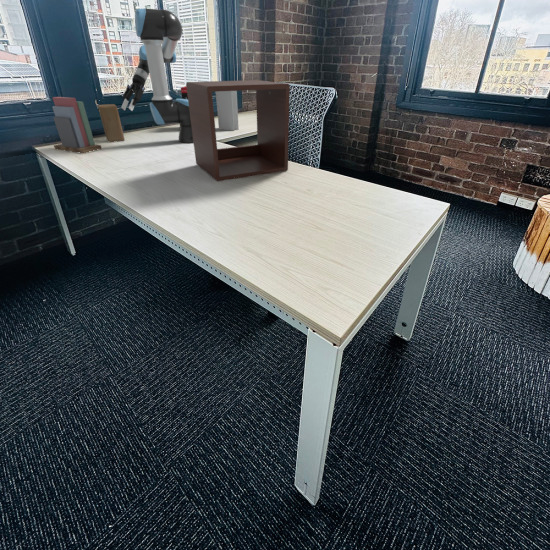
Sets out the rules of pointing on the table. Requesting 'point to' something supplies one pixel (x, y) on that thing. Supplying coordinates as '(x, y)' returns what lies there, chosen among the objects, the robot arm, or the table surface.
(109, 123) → the wooden block
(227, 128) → the grey upright pillar
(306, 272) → the table surface
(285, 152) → the storage cube
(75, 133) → the row of books
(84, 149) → the walnut shelf board
